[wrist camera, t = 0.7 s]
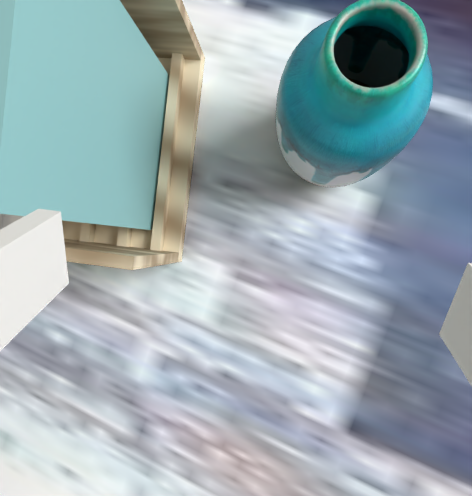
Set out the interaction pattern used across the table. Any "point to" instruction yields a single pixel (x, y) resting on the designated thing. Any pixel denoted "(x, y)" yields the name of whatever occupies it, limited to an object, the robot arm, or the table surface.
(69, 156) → the teal rectangular panel
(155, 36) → the rack
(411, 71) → the vase
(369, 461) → the table surface
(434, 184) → the table surface
